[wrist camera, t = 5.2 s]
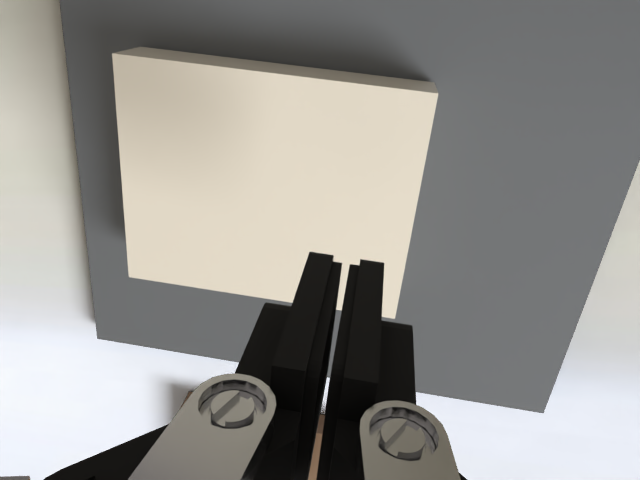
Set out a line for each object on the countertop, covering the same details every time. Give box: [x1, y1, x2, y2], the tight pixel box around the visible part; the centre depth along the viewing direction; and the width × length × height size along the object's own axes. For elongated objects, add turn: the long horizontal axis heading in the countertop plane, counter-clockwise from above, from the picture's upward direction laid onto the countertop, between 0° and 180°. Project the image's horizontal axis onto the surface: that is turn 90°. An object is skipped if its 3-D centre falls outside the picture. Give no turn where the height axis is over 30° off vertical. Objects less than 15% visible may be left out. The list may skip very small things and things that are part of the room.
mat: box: [60, 0, 640, 413], centre depth 20 cm, size 20×18×1 cm
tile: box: [112, 47, 438, 319], centre depth 19 cm, size 2×8×10 cm
